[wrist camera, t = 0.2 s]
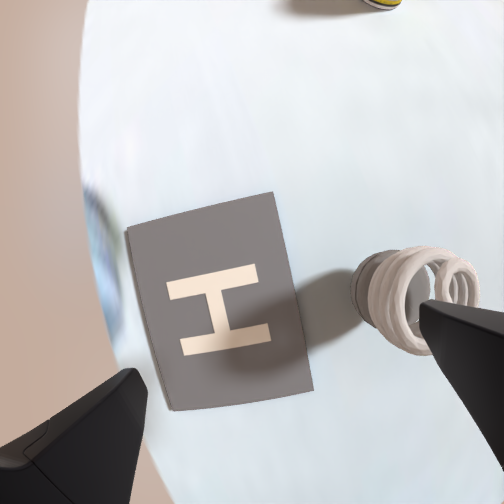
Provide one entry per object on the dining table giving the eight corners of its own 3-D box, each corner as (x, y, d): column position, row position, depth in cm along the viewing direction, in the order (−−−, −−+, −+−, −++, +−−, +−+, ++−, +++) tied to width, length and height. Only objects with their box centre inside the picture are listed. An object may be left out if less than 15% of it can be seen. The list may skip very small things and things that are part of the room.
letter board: (313, 387, 24) (314, 390, 23) (175, 408, 24) (172, 411, 24) (272, 192, 24) (272, 191, 23) (130, 227, 25) (126, 227, 24)
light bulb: (350, 239, 24) (420, 226, 12) (411, 261, 23) (506, 265, 11) (328, 308, 24) (378, 356, 12) (390, 327, 23) (470, 376, 11)
